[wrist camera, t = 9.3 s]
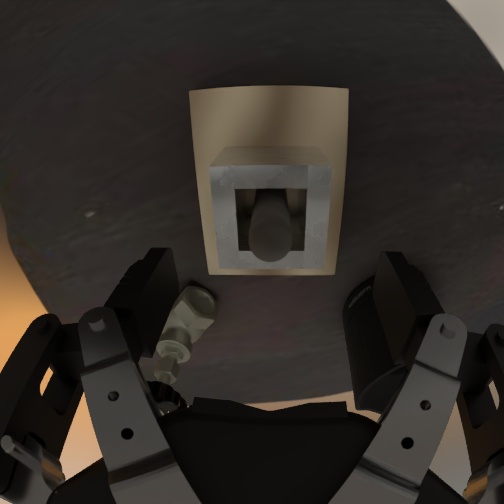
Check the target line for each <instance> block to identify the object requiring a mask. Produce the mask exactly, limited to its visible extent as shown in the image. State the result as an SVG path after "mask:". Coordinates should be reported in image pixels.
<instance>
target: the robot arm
mask: <svg viewBox="0 0 504 504" xmlns="http://www.w3.org/2000/svg"><path fill="white" fill-rule="evenodd" d="M178 289H179V283H178V277H177V272H176V267H175V262H174V257H173V252H172V250H171V248H151V249H150V250H149V251H148V253H147V254H146V256H145V257H144V259H143V260H138V261H137V262H136V263H134V264H133V265H132V266H130V267H129V269H128V270H127V272H126V273H125V274H124V277H122V279H121V280H120V282H119V284H118V285H117V286H116V288H115V289H114V291H113V292H112V294H111V295H110V297H109V298H108V300H107V302H106V303H105V305H104V306H103V307H97V308H93V309H91V310H89V311H88V312H86V313H85V314H84V315H83V316H82V317H81V319H80V320H79V323H72V324H64V325H62V324H61V322H60V320H59V318H58V317H57V316H56V315H55V314H50V313H49V314H44V315H41V316H39V317H37V318H36V319H35V320H34V321H33V322H32V323H31V324H30V325H29V327H28V328H27V330H26V332H25V333H24V335H23V336H22V338H21V339H20V341H19V342H18V344H17V346H16V347H15V349H14V351H13V352H12V354H11V355H10V357H9V359H8V361H7V362H6V364H5V366H4V367H3V369H2V371H1V373H0V498H2V499H4V500H6V501H8V502H10V503H12V504H504V326H503V325H501V324H491V325H490V326H489V327H488V328H487V330H486V331H485V333H484V335H483V334H478V333H472V332H467V330H466V327H465V325H464V324H463V323H462V322H461V321H460V320H459V319H458V318H456V317H454V316H452V315H449V314H445V312H444V310H443V308H442V307H441V305H440V303H439V301H438V299H437V298H436V296H435V294H434V292H433V291H432V290H431V287H430V285H429V284H428V283H427V280H426V279H425V277H424V275H423V274H422V272H421V271H419V270H418V269H417V268H416V267H415V266H413V265H409V264H408V262H407V260H406V259H405V257H404V255H403V254H402V253H401V252H382V253H381V255H380V258H379V263H378V267H377V271H376V275H375V280H374V284H373V300H374V303H375V306H376V308H377V311H378V314H379V317H380V320H381V323H382V326H383V329H384V333H385V336H386V339H387V342H388V345H389V349H390V352H391V355H392V359H393V362H394V365H396V364H406V367H407V369H406V371H405V372H404V374H403V376H402V378H401V380H400V382H399V384H398V386H397V388H396V390H395V392H394V393H393V395H392V397H391V399H390V401H389V402H388V404H387V406H386V408H385V409H384V411H383V413H382V414H381V416H380V418H379V419H378V421H377V422H375V421H373V420H371V419H369V418H368V417H365V416H363V415H360V414H356V413H353V412H348V411H347V405H346V401H342V402H321V403H307V404H303V405H298V406H293V407H289V408H284V409H279V410H275V411H266V410H262V409H259V408H255V407H251V406H248V405H244V404H241V403H237V402H234V401H231V400H219V399H209V398H200V397H194V401H193V405H192V407H187V408H182V409H178V410H175V411H171V412H169V413H167V414H164V415H162V414H161V412H160V410H159V408H158V406H157V404H156V402H155V400H154V398H153V396H152V393H151V391H150V389H149V387H148V385H147V382H146V380H145V378H144V375H143V373H142V371H141V368H140V366H139V364H138V362H139V360H140V357H141V356H142V357H148V358H152V357H153V354H154V352H155V349H156V346H157V344H158V341H159V339H160V336H161V334H162V331H163V329H164V326H165V324H166V322H167V319H168V317H169V314H170V312H171V309H172V307H173V305H174V302H175V300H176V298H177V295H178ZM48 367H50V369H51V370H52V371H53V374H52V376H51V378H50V381H49V382H48V385H47V387H46V389H45V391H44V393H43V395H42V396H41V393H40V384H41V381H42V379H43V377H44V375H45V373H46V371H47V369H48ZM492 381H494V384H495V387H496V389H497V392H498V395H499V406H498V409H496V406H495V404H494V400H493V397H492V394H491V392H490V389H489V386H488V385H489V384H490V383H491V382H492ZM83 392H84V393H85V397H86V402H87V406H88V409H89V413H90V417H91V420H92V424H93V428H94V431H95V434H96V437H97V441H98V443H99V447H100V450H101V453H102V455H103V457H102V458H101V459H99V460H98V461H96V462H95V463H93V464H92V465H90V466H88V467H87V468H85V469H84V470H82V471H81V472H79V473H78V474H76V475H74V476H73V477H71V478H70V479H68V480H66V481H65V475H64V473H63V472H62V466H61V463H60V461H59V459H60V456H61V452H62V449H63V446H64V443H65V440H66V438H67V435H68V432H69V429H70V426H71V424H72V421H73V418H74V415H75V413H76V410H77V407H78V405H79V402H80V400H81V397H82V395H83ZM455 401H456V402H457V406H458V410H459V413H460V417H461V422H462V425H463V430H464V435H465V439H466V444H467V449H468V454H469V460H470V466H471V472H472V475H471V476H470V478H469V480H468V483H467V487H466V488H465V489H464V491H463V497H462V496H461V495H460V494H458V493H457V492H456V491H455V490H453V489H452V488H451V487H450V486H449V485H448V484H446V483H445V482H444V481H443V480H442V479H441V478H439V477H438V476H437V475H436V474H435V473H434V472H432V471H431V470H430V469H429V466H430V464H431V462H432V459H433V457H434V455H435V453H436V451H437V448H438V446H439V444H440V441H441V439H442V436H443V434H444V431H445V429H446V426H447V424H448V421H449V418H450V415H451V412H452V410H453V407H454V404H455Z"/></svg>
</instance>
